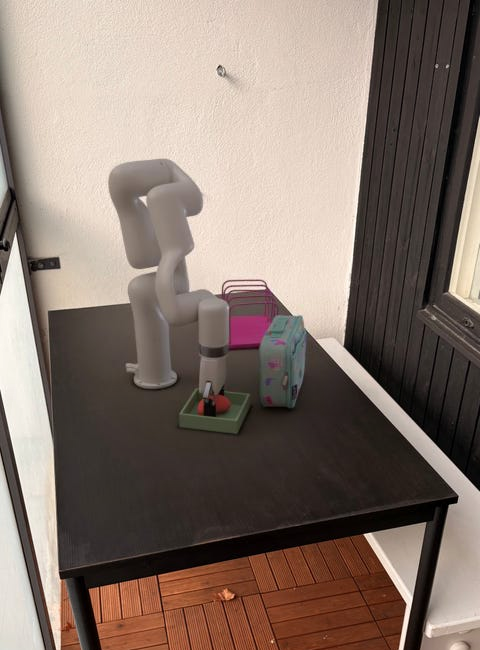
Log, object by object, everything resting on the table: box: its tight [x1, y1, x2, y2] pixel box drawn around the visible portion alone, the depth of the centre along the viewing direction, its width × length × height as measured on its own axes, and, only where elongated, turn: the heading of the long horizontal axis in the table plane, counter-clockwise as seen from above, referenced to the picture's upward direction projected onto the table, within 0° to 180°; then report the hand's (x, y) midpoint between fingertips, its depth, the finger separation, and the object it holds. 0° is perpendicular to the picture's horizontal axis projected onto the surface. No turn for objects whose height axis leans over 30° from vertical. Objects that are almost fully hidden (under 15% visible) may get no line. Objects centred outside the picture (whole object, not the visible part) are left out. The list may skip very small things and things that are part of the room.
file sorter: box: [221, 278, 280, 350], centre depth 217 cm, size 17×25×16 cm
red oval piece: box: [198, 395, 231, 416], centre depth 171 cm, size 5×9×6 cm, turn 110°
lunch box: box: [258, 314, 307, 409], centre depth 177 cm, size 27×10×21 cm, turn 168°
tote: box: [178, 387, 251, 435], centre depth 170 cm, size 15×15×4 cm
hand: (214, 409), depth 171 cm, fingers closed on red oval piece, 7 cm apart
